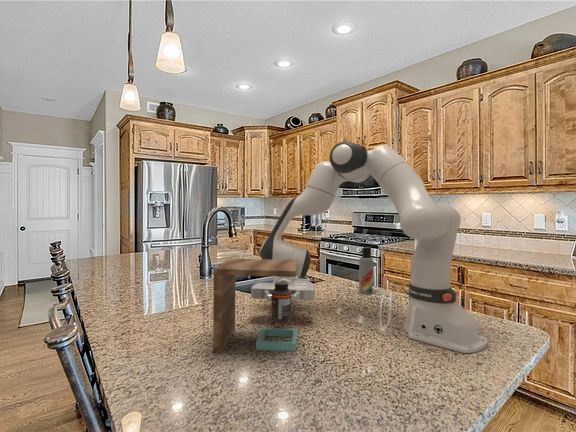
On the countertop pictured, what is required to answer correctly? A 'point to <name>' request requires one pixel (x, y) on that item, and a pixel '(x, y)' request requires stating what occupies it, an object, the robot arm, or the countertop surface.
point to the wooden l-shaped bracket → (226, 290)
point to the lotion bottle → (366, 272)
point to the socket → (277, 344)
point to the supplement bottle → (281, 302)
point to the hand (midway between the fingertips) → (281, 298)
